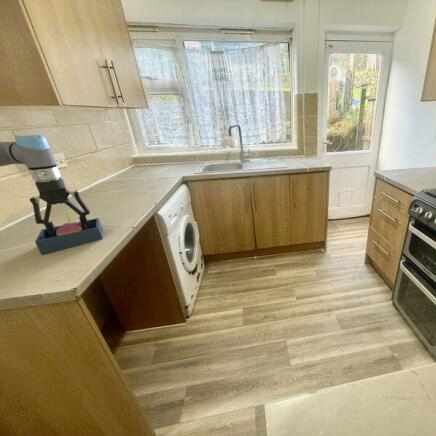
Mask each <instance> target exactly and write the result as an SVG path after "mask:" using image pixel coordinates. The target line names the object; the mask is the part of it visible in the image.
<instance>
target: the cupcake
mask: <svg viewBox="0 0 436 436" xmlns="http://www.w3.org/2000/svg"><path fill="white" fill-rule="evenodd" d="M68 210H69V209H68ZM68 210H66V216H67V220H68V222H66V223H63V224H61V225H59V226H60V227H58V229H57V230H56V235H57V236H60V235H65V234H69V233H74V232H79V231H82V230H83V227H82V224H81V223H79V222H80V221H72V219H71V216H70V215H71V214H70V213H69V211H68ZM77 222H78V223H77Z"/></svg>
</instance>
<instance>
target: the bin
mask: <svg viewBox="0 0 436 436" xmlns="http://www.w3.org/2000/svg"><path fill="white" fill-rule="evenodd" d="M87 221H88V223H87V224H85V225H86V227H87V230H84V229H83V230H82V231H79V232H74V233H69V234H65V235H60V236H56V237H54V236H53V234H52V231H50V232H48V231H47V229H46V228H43V229H40V232H39V233H38V235H37V237H36V239H35V240H34V243H35V245H36V246H37V249H38V251H39V252H40V255H46V254H51V253H55V252H57V251H63V250H67V249H71V248H75V247H79V246H83V245H86V244H91V243H94V242H98V241H102V240H103V239H104V238H103V237H104V235H103V234H104V232H103V231H104V228H103V225H102V223H101V220H100V218H99V217H96V218H92V219H91V218H90V219H87ZM76 222H77V223H78V222H79V223H81V222H80V221H76ZM60 226H61V225H57V226H54V227H55V229H56V230H57V229H58V227H60Z"/></svg>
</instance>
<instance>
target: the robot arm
mask: <svg viewBox="0 0 436 436" xmlns="http://www.w3.org/2000/svg"><path fill="white" fill-rule="evenodd" d="M14 140H15V141H0V167H5V166H10V165H26V166H27V169H28V171H29V173H30V175H31V178H32V180H33V181H35V182H34V183H35V187H36V189H37V191H38V193H39V195H37V196H31V197H30V198H29V202H30V203H31V204H32V206H33V207H32V208H33V215H34V220H35V224H36V225H44V228H45V229H47V231H48V232H50V231H52V234H53V236H54V237H56V236H57V235H56V229H55V227H56V226H55V225H54V222H53V221H50V217H51V214H52V213H51V212H52V207H53V206H55V205H58V204H59V205H60V204H64V205H66V206H68V207H69V208H70V209H71V210H72V211H74V212H75V213H76V214H77V215H79V217H78V218H79V222H81V224H82V227H83V229H84V230H87V227H86V225H85V224H87V223H88V221H87V220H88V218H87V216H88V215H90V214H91V211H90V209H89V208H88V206H87V205H86V204H85V202H84V200H83V198H81V196H80V192H79V191H78V190H73V191H71V190H68V188H67V186H66V185H65V181H64V179H63V178H61V177H62V174H61V171H60V169H59V166H58V165H57V163H56V160H55V158H54V155H53V152H52V150H51V146H50V144H49V142H48V141H47V139H46V137H45V136H44V135H41V134H25V135H16V136H14ZM70 195H71V196H72V198H75V201H76V202H77V203H78V205H79V206H80V207H81V208H80V207H79V206H77V205H76V204H74V203H73V201H71V200H70V199H69V197H70ZM41 200H42V201H43V202H46V206H45V212H44V216H43V218H42V213H41V208H40V202H41ZM81 209H82V210H81Z"/></svg>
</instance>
